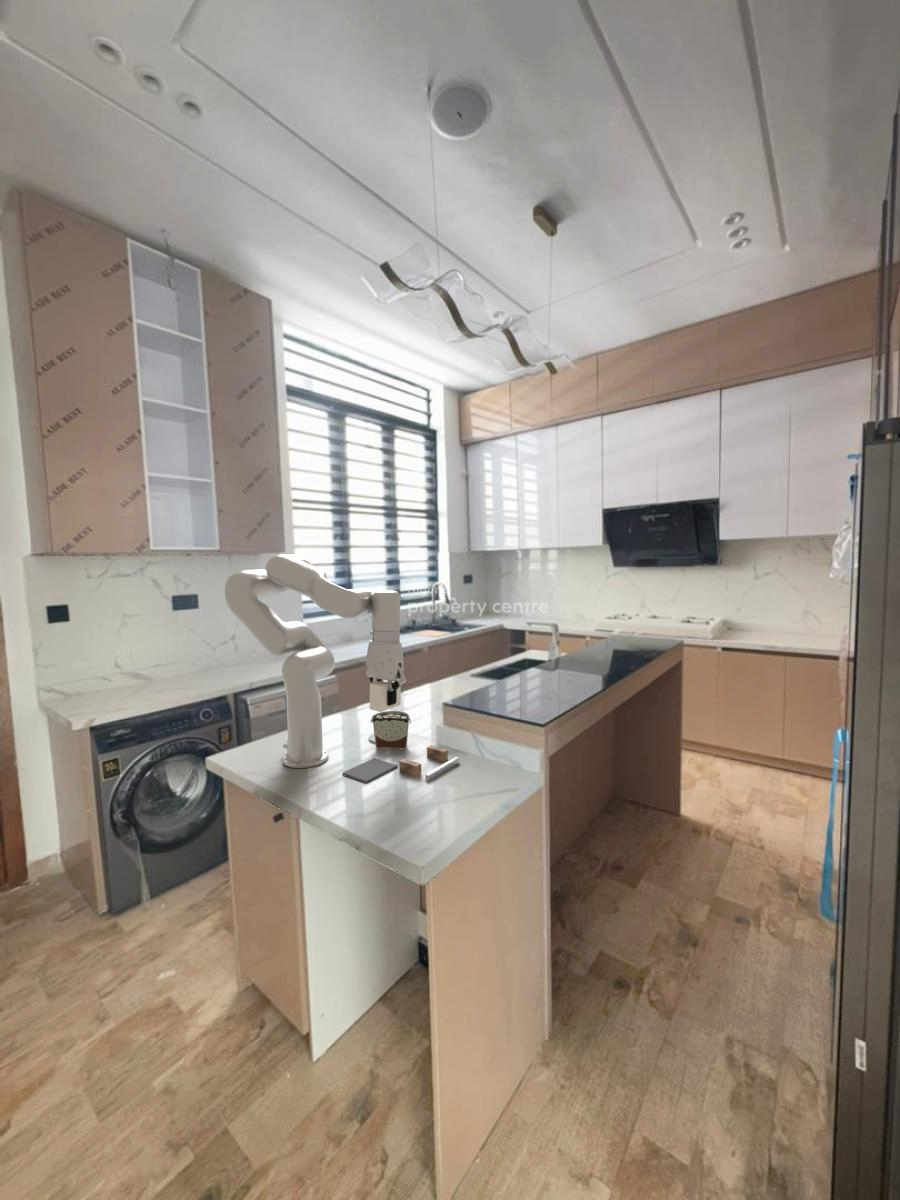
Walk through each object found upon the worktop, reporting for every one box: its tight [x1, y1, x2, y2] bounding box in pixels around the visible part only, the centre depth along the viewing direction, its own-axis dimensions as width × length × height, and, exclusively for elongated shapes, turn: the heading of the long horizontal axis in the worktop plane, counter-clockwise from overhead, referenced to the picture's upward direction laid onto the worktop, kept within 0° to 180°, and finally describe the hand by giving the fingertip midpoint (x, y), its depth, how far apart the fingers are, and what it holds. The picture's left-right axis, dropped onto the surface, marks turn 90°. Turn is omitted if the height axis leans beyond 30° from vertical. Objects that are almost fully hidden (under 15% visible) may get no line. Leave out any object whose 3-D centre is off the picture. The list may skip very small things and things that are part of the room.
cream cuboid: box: [369, 680, 402, 713], centre depth 133 cm, size 4×8×7 cm, turn 145°
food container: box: [370, 710, 412, 750], centre depth 152 cm, size 12×6×10 cm, turn 84°
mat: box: [342, 757, 399, 784], centre depth 133 cm, size 9×12×1 cm
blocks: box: [398, 744, 460, 782], centre depth 135 cm, size 10×14×3 cm
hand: (385, 702), depth 133 cm, fingers closed on cream cuboid, 4 cm apart
